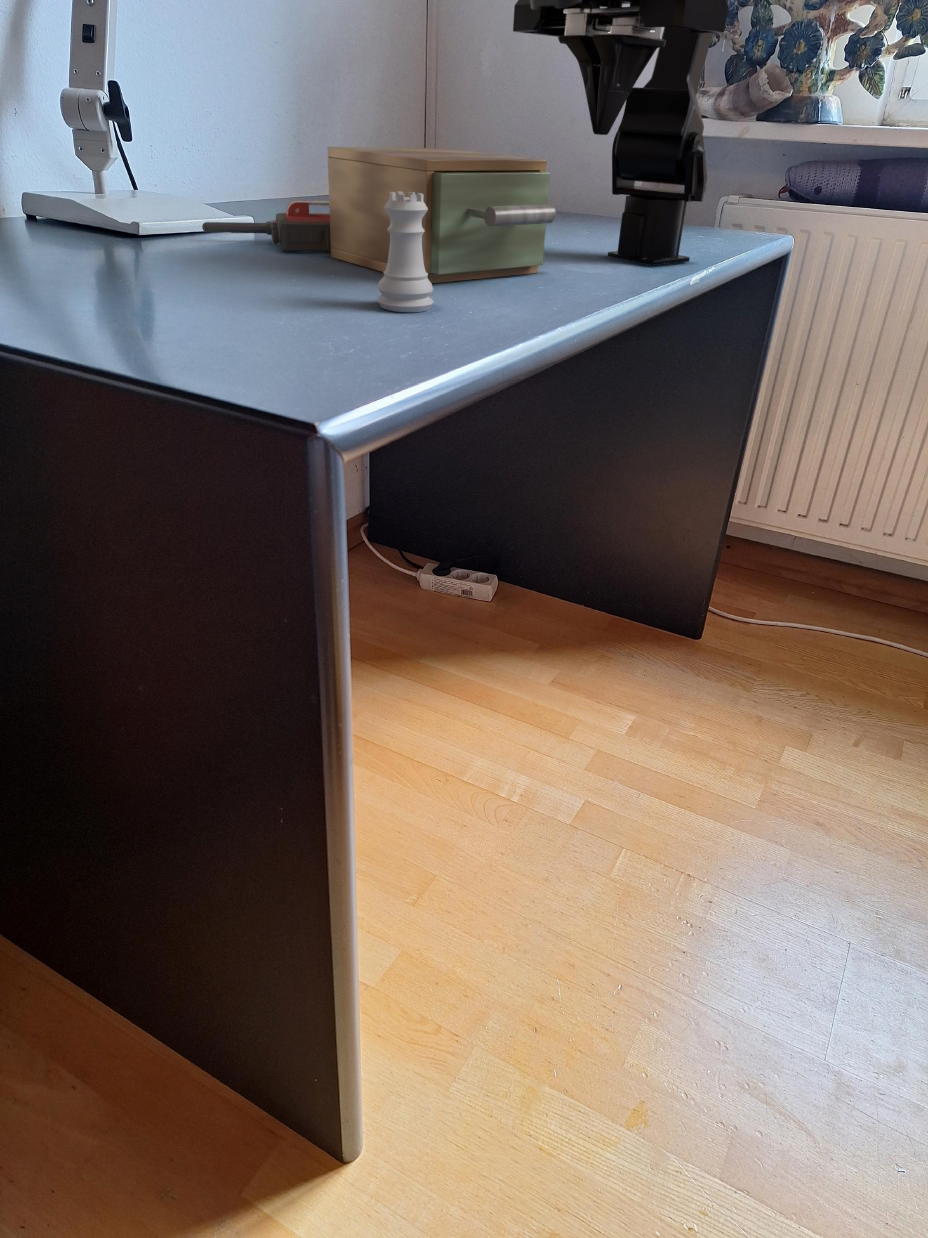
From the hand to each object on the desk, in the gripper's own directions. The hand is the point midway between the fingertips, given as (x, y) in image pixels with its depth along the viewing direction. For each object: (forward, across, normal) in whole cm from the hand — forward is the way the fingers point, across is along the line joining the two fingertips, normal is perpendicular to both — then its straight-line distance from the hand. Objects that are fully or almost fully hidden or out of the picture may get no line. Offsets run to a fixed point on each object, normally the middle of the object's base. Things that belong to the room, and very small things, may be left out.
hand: (600, 134), depth 74 cm
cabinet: (+12, -13, -8) cm, 19 cm away
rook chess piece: (+12, +2, -22) cm, 25 cm away
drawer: (+11, -9, -8) cm, 16 cm away
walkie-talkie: (+12, -28, -14) cm, 34 cm away
